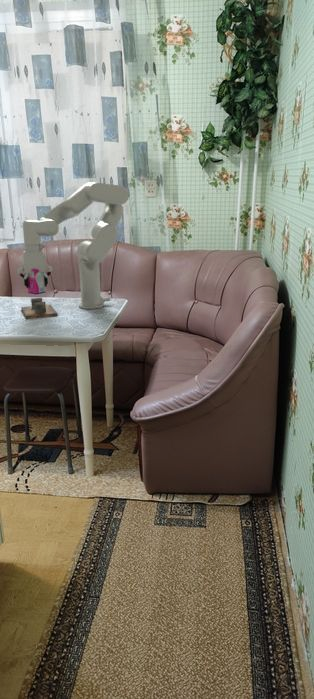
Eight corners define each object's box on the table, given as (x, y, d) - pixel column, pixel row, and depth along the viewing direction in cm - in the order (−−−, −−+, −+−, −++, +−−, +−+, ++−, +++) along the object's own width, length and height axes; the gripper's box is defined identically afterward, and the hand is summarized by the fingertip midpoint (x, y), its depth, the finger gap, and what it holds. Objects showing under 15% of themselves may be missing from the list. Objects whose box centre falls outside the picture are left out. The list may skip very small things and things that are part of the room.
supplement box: (37, 291, 241) (35, 266, 237) (45, 292, 238) (44, 268, 234) (27, 293, 236) (25, 268, 233) (36, 294, 233) (34, 269, 230)
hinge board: (50, 307, 251) (49, 294, 249) (57, 316, 235) (56, 302, 233) (21, 310, 246) (20, 297, 244) (26, 319, 230) (25, 305, 228)
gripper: (51, 246, 237) (53, 283, 242) (12, 248, 231) (16, 286, 236) (54, 248, 230) (56, 286, 236) (14, 250, 224) (18, 289, 230)
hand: (36, 286), depth 236 cm, fingers closed on supplement box, 7 cm apart
